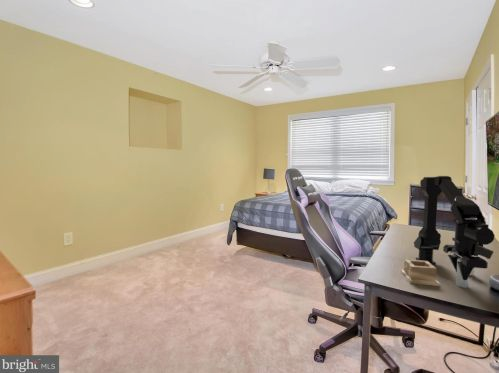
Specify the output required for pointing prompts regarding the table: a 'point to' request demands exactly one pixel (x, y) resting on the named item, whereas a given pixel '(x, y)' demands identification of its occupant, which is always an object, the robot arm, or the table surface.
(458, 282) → the peg
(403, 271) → the bottle holder
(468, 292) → the table surface
